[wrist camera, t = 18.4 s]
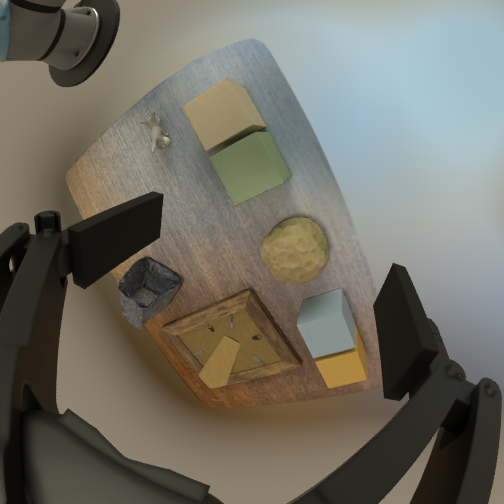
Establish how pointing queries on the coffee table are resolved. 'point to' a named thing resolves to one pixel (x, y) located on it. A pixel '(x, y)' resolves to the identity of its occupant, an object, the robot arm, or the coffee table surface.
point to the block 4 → (344, 365)
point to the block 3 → (327, 324)
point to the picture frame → (232, 341)
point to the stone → (146, 290)
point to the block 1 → (223, 115)
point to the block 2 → (250, 167)
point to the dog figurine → (156, 133)
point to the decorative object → (295, 251)
